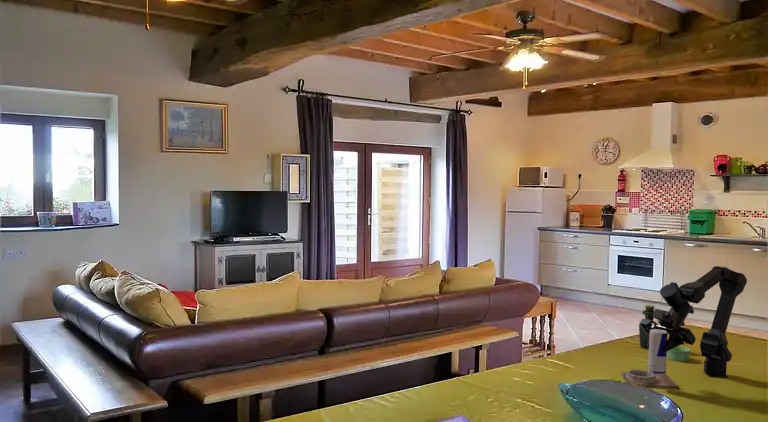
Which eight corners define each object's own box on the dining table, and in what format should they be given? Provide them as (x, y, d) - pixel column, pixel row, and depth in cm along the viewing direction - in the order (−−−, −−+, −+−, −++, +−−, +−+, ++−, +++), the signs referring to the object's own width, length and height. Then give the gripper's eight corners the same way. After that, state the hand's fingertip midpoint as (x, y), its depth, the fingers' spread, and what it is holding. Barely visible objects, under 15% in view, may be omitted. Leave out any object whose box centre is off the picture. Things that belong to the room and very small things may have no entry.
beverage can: (661, 377, 213) (662, 333, 212) (645, 373, 217) (646, 330, 216) (668, 374, 216) (670, 331, 215) (653, 370, 220) (654, 327, 220)
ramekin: (694, 362, 249) (694, 351, 249) (671, 362, 249) (671, 351, 249) (683, 356, 258) (684, 345, 258) (661, 355, 258) (662, 345, 258)
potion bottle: (646, 350, 265) (648, 308, 264) (633, 345, 273) (635, 304, 272) (662, 349, 267) (664, 307, 267) (650, 344, 275) (651, 303, 274)
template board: (666, 377, 229) (667, 369, 229) (678, 389, 216) (679, 380, 216) (621, 374, 231) (621, 366, 231) (630, 386, 218) (630, 377, 218)
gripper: (643, 295, 225) (621, 329, 221) (691, 305, 209) (668, 342, 204) (657, 315, 230) (636, 349, 225) (705, 326, 213) (683, 362, 209)
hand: (655, 350), depth 215 cm, fingers closed on beverage can, 5 cm apart
